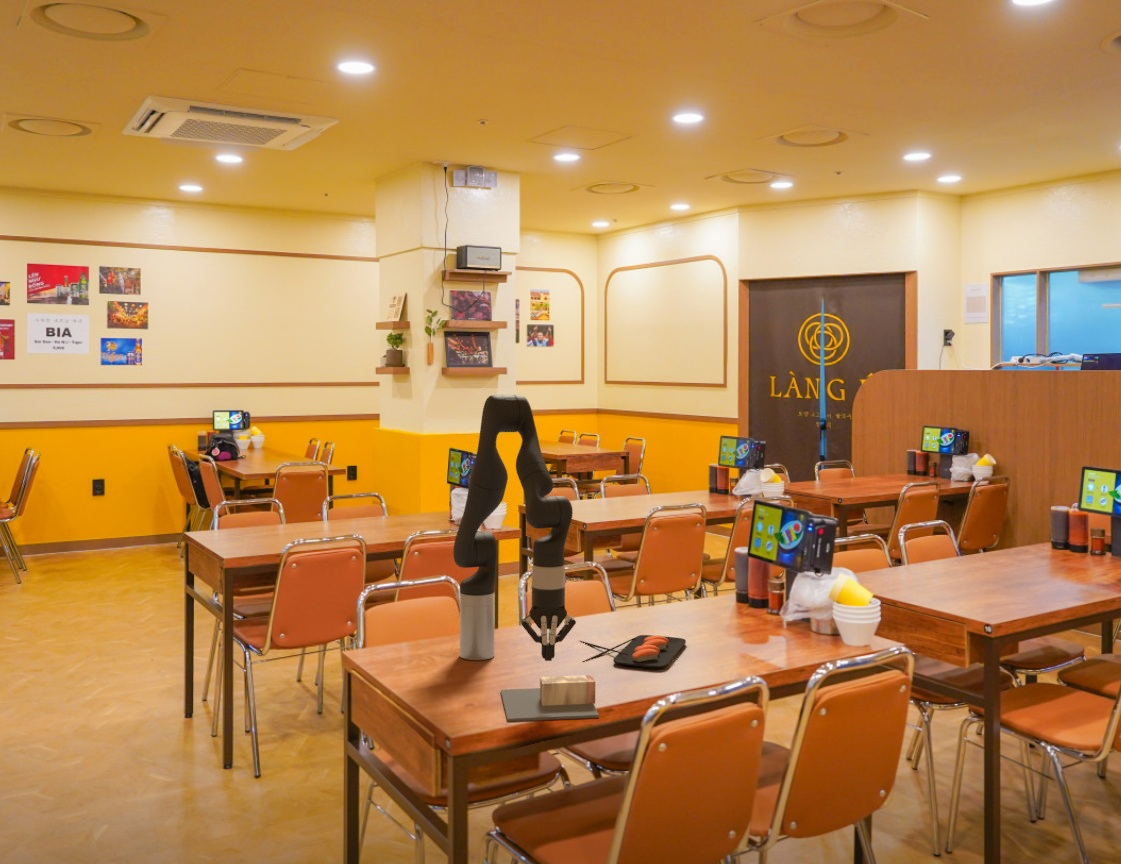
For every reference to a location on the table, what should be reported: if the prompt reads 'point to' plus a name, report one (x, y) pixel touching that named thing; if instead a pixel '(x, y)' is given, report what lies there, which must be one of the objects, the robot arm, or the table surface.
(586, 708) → the slate mat
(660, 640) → the sushi plate
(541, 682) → the birch block
